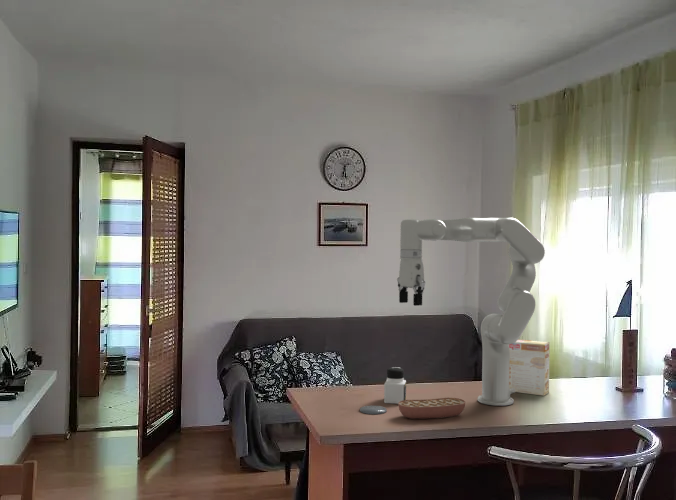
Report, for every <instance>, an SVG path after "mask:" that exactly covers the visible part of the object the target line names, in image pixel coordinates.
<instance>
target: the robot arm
mask: <svg viewBox="0 0 676 500" xmlns="http://www.w3.org/2000/svg"><path fill="white" fill-rule="evenodd" d="M423 241H432V242H434V241H435V242H436V241H455V242H456V241H457V242H464V243H465V242H466V243H467V242H468V243H479V242H480V243H481V242H482V243H483V242H484V243H490V242H491V243H500V242H501V243H504V242H505V243H508V244H509V247H508V249H507V250H508V256H509V259H510V262H511V265H512V267H511V268H512V270H511V273H510V276H509V278H508V280H507V281H506V284H505V285H504V287H503V289H502V291H501V292H500V294H499V296H498V298H497V307H498V309H499V310H500V311H501V312H503V314H500V313H490V314H488V315H486V316H484V318H483V320H482V321H481V323H480V335H481V343H482V344H481V345H482V358H481V359H482V360H481V362H482V367H481V368H482V369H481V372H482V373H481V374H482V375H481V379H482V380H481V381H482V382H481V384H482V385H481V386H482V387H481V395H478V396H477V401H478V402H479V403H481V404H483V405H488V406H496V407H497V406H498V407H500V406H501V407H502V406H510V405H513V404H514V398H513V397H511V395H512V394H515V393H516V392H515V389H514V388H509V363H510V351H509V344H513V343H515V342H516V341H517V340H518V339H519V340H520V338H521V336H522V335H523V333H524V331H525V330H526V327H528V324H529V322H530V321H531V318H532V317H533V314H534V313H535V310H536V300H535V297H534V295H533V294H532V293H531V292H530V291H531V290H532V287H533V286H534V283H535V281H536V277H537V275H536V273H537V272H536V266H535V264H538V263H540V262H541V261H543V259H544V257H545V254H546V252H545V251H546V250H545V246H544V245H543V243H542V242H541V241H540V240H539V239H538V238H537V236H535V235H534V234H533V233H532V232H531V231H530V230H529V229H528V228H527V227H526V226H525V225H524V224H523V223H522V222H521V221H520V220H518V219H517V218H514V217H467V218H465V217H464V218H463V217H462V218H456V219H436V218H433V219H432V218H431V219H423V220H420V219H402V221H401V222H400V244H399V246H400V248H399V249H400V251H399V252H400V253H399V256H400V258H399V260H400V262H399V271H398V273H399V274H398V277H397V279H396V280H397V287H398V291H399V292H398V293H399V294H398V296H399V297H398V298H399V299H398V301H399V303H400V304H403V303H404V304H405V303H408V302H409V291H408V289H412V290H413V292H414V293H413V295H412V296H413V299H412V300H413V301H412V303H413V304H412V305H413V306H423V294H424V290H425V286H426V281H425V272H424V271H425V270H424V269H425V268H424V267H425V266H424V263H423V261H424V260H423Z"/></svg>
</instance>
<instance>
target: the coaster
mask: <svg viewBox="0 0 676 500" xmlns="http://www.w3.org/2000/svg"><path fill="white" fill-rule="evenodd" d="M359 412H361V413H363V414H366V415H382V414H386V413H387V407H385V406H381V405H364V406H362V407H360V408H359Z"/></svg>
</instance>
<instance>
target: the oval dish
mask: <svg viewBox="0 0 676 500" xmlns="http://www.w3.org/2000/svg"><path fill="white" fill-rule="evenodd" d="M397 405H398V409H399V412H400V413H401V415H402V416H403V417H405V418H407V419H411V420H416V419H417V420H419V419H420V420H422V419H423V420H426V419H429V420H430V419H441V418H450V417H457V416H458V415H461V413H462V412H463V411H464V410H465V407H466V401H465V399H462V398H460V397H459V398H457V397H440V398H427V399H406V400H403V401H400V402H399V403H398V404H397Z"/></svg>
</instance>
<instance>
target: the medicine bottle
mask: <svg viewBox="0 0 676 500" xmlns="http://www.w3.org/2000/svg"><path fill="white" fill-rule="evenodd" d="M383 386H384V388H383V390H384V392H383V395H384V396H383V399H384V400H383V402H384V404H393V405H394V404H395V405H396V404H397V405H398V403H399V402H400V401H403V400H407V380H406V379H405V370H404V369H403V368H401V367H396V366H395V367H394V366H393V367H389V368H387V369H386V381H385V382H384V384H383Z"/></svg>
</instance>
